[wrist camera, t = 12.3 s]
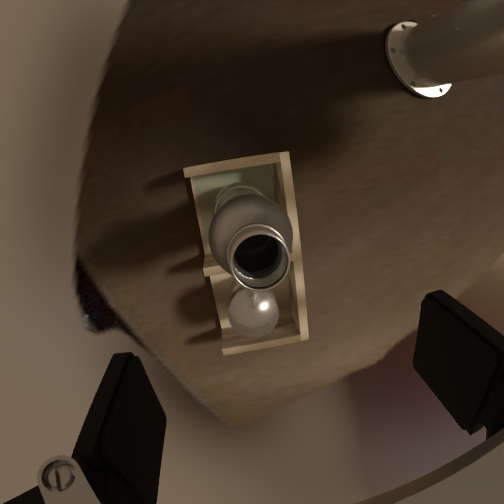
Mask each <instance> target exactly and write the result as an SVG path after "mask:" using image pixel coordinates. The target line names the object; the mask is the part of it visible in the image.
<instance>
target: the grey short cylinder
mask: <svg viewBox="0 0 504 504" xmlns="http://www.w3.org/2000/svg"><path fill="white" fill-rule="evenodd" d="M228 318H229V322H230V325H231V326H232V328H233V329H234V330H235V331H236V332H238V333H239V334H241V335H243V336H247V337H259V336H263V335H265V334H267V333H269V332H270V331H271V330H272V329H273V328H274V327H275V326H276V324H277V322H278V319H279V310H278V306H277V302H276V298H275V294H274V290H273V289H271V290H268V291H263V292H256V291H251V290H248V289H246V288H244V287H243V286H241V285H240V284H239V283H238V282H237V281H236V280H235V279H234V280H233V282H232V284H231V288H230V299H229V311H228Z"/></svg>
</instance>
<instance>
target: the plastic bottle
mask: <svg viewBox="0 0 504 504" xmlns="http://www.w3.org/2000/svg"><path fill="white" fill-rule="evenodd" d="M212 214H213V219H212V221H211V224H210V228H209V239H208V240H209V246H210V250H211V253H212V255H213V257H214V259H215V260H216V262H217V263H218V264H219V266H220V267H221V268H222V269H223V270H225V271H226V272H227V273H229V274H230V275H232V276H234V278H235V280H236V281H237V282H238V283H239V284H240V285H241V286H243V287H244V288H246V289H248V290H251V291H256V292H263V291H268V290H271V289H273V288H275V287H277V286H278V285H279V284H280V283H281V282H282V281H283V280H284V279H285V278H286V276H287V274H288V272H289V268H290V252H291V249H292V245H293V228H292V225H291V222H290V219H289V217H288V215H287V213H286V212H285V211H284V209H283V208H282V207H281V206H280V205H279V204H278V203H276V202H275V201H274V200H272V199H270V198H268V197H266V196H265V194H264V193H263V192H262V191H261V190H260V189H259V188H258V187H256V186H255V185H253V184H250V183H247V182H235V183H232V184H229V185H227V186H225V187H224V188H223V189H222V190H221V191H220V192H219V193H218V194H217V196H216V198H215V200H214V203H213V207H212Z"/></svg>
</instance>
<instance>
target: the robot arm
mask: <svg viewBox="0 0 504 504" xmlns="http://www.w3.org/2000/svg"><path fill="white" fill-rule="evenodd" d="M385 51H386V56H387V59H388V62H389V65H390V67H391V68H392V70H393V72H394V74H395V75H396V77H397V78H398V79H399V80H400V82H401V83H402V84H403V85H404V86H405V87H406V88H408V89H409V90H410V91H412V92H413V93H415V94H416V95H419V96H421V97H425V98H435V97H440V96H442V95H444V94H445V93H446V92H447V91H448V89H449V88H450V86H451V84H453V83H458V82H463V81H468V80H474V79H480V78H486V77H492V76H499V75H504V0H468V1H466V2H463V3H461V4H459V5H457V6H455V7H453V8H450V9H448V10H446V11H444V12H442V13H440V14H438V15H432V16H431V18H430V19H428V20H426V21H424V22H422V23H420V24H417V23H414V22H401V23H399V24H397V25H395V26H394V27H392V28H391V29H390V30H389V32H388V34H387V36H386V41H385ZM413 366H414V368H415V370H416V371H417V373H418V374H419V375H420V376H421V377H422V379H423V380H424V381H425V382H426V383H427V385H428V386H429V387H430V389H431V390H432V391H433V392H434V394H435V395H436V396H437V397H438V399H439V400H440V401H441V403H442V404H443V405H444V407H445V408H446V409H447V410H448V412H449V413H450V414H451V415H452V417H453V418H454V419H455V421H456V422H457V423H458V425H459V426H460V427H461V428H462V429H463V430H467V431H468V433H469V434H470V435H472V434H474V433H475V432H477V431H478V430H480V429H482V427H483V425H484V426H485V427H486V429H487V430H486V440H485V441H484V442H483V443H481V444H479V445H478V446H476V447H475V448H473V449H472V450H470V451H468V452H467V453H465V454H463V455H462V456H460V457H458V458H457V459H455V460H453V461H451V462H449V463H447V464H446V465H444V466H442V467H440V468H438V469H436V470H434V471H432V472H430V473H428V474H426V475H424V476H422V477H420V478H418V479H416V480H413V481H411V482H409V483H407V484H405V485H402V486H400V487H397V488H395V489H393V490H390V491H388V492H385V493H383V494H380V495H377V496H375V497H372V498H369V499H366V500H363V501H360V502H357V503H354V504H504V336H503V335H502V334H500V333H499V332H498V331H497V330H495V329H494V328H493V327H492V326H490V325H489V324H488V323H486V322H485V321H484V320H483V319H481V318H480V317H478V316H477V315H476V314H475V313H473V312H472V311H471V310H469V309H468V308H467V307H465V306H464V305H462V304H461V303H460V302H458V301H457V300H456V299H454V298H453V297H451V296H450V295H449V294H447V293H446V292H444V291H443V290H437V291H434V292H431V293H428V294H426V296H425V298H424V299H423V300H422V303H421V311H420V319H419V326H418V333H417V339H416V346H415V352H414V357H413ZM165 430H166V415H165V413H164V410H163V408H162V406H161V404H160V402H159V400H158V398H157V396H156V394H155V392H154V390H153V387H152V385H151V383H150V381H149V378H148V376H147V374H146V372H145V369H144V367H143V365H142V363H141V360H140V359H139V357H137V356H134V355H133V353H131V352H126V353H115V354H114V355H113V356H112V359H111V361H110V363H109V365H108V368H107V369H106V372H105V374H104V376H103V378H102V381H101V383H100V385H99V388H98V390H97V393H96V395H95V397H94V399H93V402H92V404H91V407H90V409H89V412H88V414H87V416H86V419H85V421H84V424H83V427H82V429H81V432H80V434H79V437H78V439H77V442H76V445H75V448H74V450H73V454H72V457H68V456H64V455H63V456H55V457H52V458H50V459H49V460H47V461H45V462H44V464H43V465H42V466H41V467H40V469H39V471H38V475H37V481H38V486H36V487H34V488H32V489H30V490H29V491H27V492H25V493H23V494H21V495H19V496H17V497H15V498H13V499H11V500H9V501H7V502H5V503H3V504H156V502H157V495H158V486H159V485H158V484H159V477H160V468H161V460H162V452H163V444H164V437H165Z"/></svg>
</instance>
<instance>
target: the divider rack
mask: <svg viewBox="0 0 504 504" xmlns="http://www.w3.org/2000/svg"><path fill="white" fill-rule="evenodd" d="M183 170H184V176H185V178H187V177H190V179H191V185H192V190H193V196H194V201H195V207H196V212H197V217H198V222H199V227H200V232H201V237H202V242H203V247H204V252H205V258H204V265H203V271H204V275H205V277H206V276H210V280H211V285H212V289H213V294H214V298H215V302H216V307H217V311H218V315H219V320H220V324H221V328H222V351H223V354H224V355H229V354H235V353H241V352H247V351H253V350H258V349H264V348H269V347H274V346H279V345H284V344H289V343H294V342H298V341H303V340H308V339H309V336H308V323H307V310H306V298H305V287H304V276H303V265H302V255H301V246H300V237H299V228H298V219H297V210H296V202H295V194H294V186H293V179H292V171H291V164H290V157H289V151H288V152H277V153H269V154H262V155H255V156H248V157H242V158H236V159H229V160H224V161H218V162H212V163H207V164H201V165H196V166H191V167H187V168H183ZM235 182H247V183H250V184H253V185H255V186H256V187H258V188H259V189H260V190H261V191H262V192H263V193H264V194H265V196H266V197H268V198H270V199H272V200H274V201H275V202H276V203H278V204H279V205H280V206H281V207H282V208H283V209H284V211H285V212H286V213H287V215H288V217H289V219H290V222H291V225H292V228H293V245H292V249H291V252H290V268H289V272H288V274H287V276H286V278H285V279H284V280H283V281H282V282H281V283H280V284H279V285H278V286H277V287H275V288H273V290H274V294H275V298H276V302H277V306H278V310H279V319H278V322H277V324H276V326H275V327H274V328H273V329H272V330H271V331H270V332H269V333H267V334H265V335H263V336H259V337H247V336H243V335H241V334H239V333H238V332H236V331H235V330H234V329H233V328H232V326H231V325H230V322H229V318H228V311H229V299H230V288H231V284H232V282H233V280H234V279H235V278H234V276H232V275H230V274H229V273H227V272H226V271H225V270H223V269H222V268H221V267H220V266H219V264H218V263H217V262H216V260H215V259H214V257H213V255H212V253H211V250H210V246H209V240H208V239H209V228H210V224H211V221H212V219H213V214H212V207H213V203H214V200H215V198H216V196H217V194H218V193H219V192H220V191H221V190H222V189H223V188H224V187H225V186H227V185H229V184H232V183H235Z"/></svg>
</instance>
